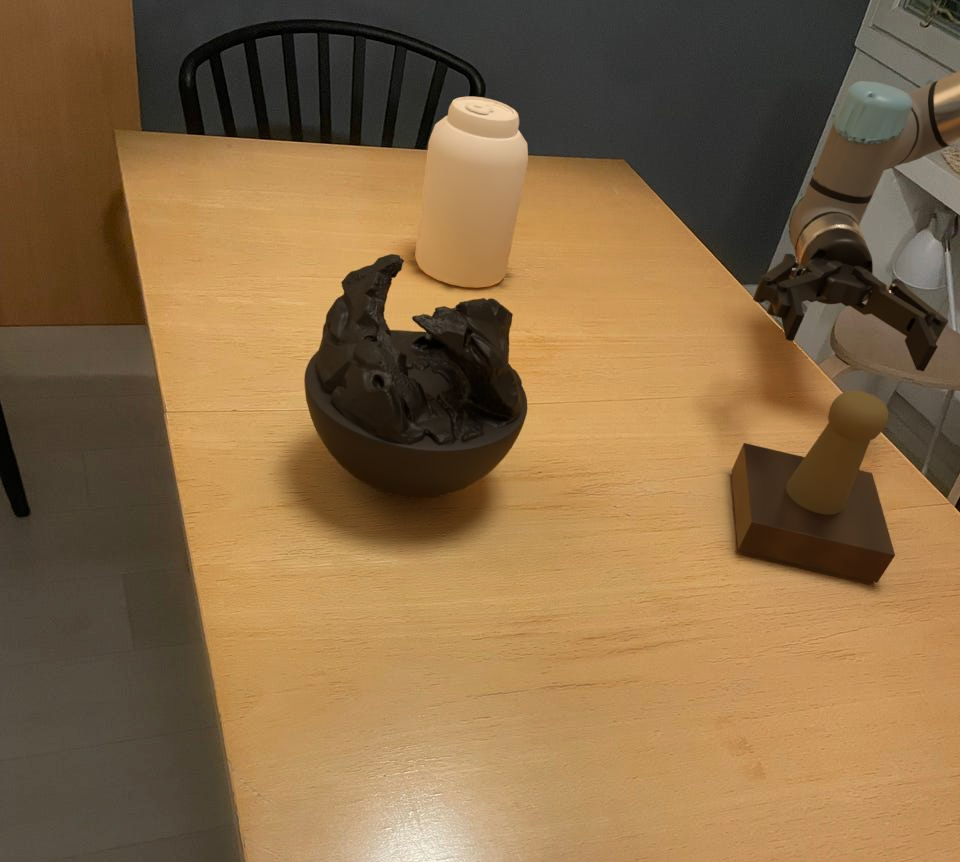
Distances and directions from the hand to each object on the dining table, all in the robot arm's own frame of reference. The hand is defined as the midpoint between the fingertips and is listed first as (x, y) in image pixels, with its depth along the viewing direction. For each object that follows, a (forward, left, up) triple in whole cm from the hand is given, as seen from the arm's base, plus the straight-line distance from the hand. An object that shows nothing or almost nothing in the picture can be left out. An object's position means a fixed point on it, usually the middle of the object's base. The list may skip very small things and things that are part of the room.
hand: (861, 343), depth 90 cm
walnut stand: (+1, +11, -15) cm, 19 cm away
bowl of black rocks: (+41, +18, -15) cm, 47 cm away
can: (+44, -31, -15) cm, 56 cm away
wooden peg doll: (+1, +11, -11) cm, 16 cm away
